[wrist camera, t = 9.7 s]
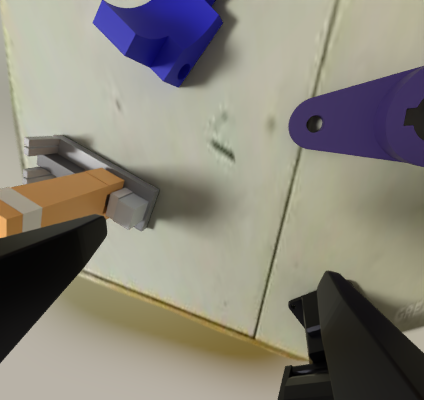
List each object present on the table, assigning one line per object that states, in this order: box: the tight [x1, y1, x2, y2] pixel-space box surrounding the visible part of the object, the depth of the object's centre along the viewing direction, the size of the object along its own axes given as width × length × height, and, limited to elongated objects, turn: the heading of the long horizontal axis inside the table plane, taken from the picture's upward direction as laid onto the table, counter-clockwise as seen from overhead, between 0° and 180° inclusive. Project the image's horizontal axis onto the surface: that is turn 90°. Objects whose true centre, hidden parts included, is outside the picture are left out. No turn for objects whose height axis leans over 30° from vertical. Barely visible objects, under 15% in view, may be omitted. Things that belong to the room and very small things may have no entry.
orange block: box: [0, 168, 124, 238], centre depth 19 cm, size 3×5×11 cm
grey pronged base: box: [23, 135, 159, 231], centre depth 23 cm, size 14×5×4 cm, turn 65°
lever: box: [289, 66, 424, 167], centre depth 15 cm, size 12×6×3 cm, turn 93°
